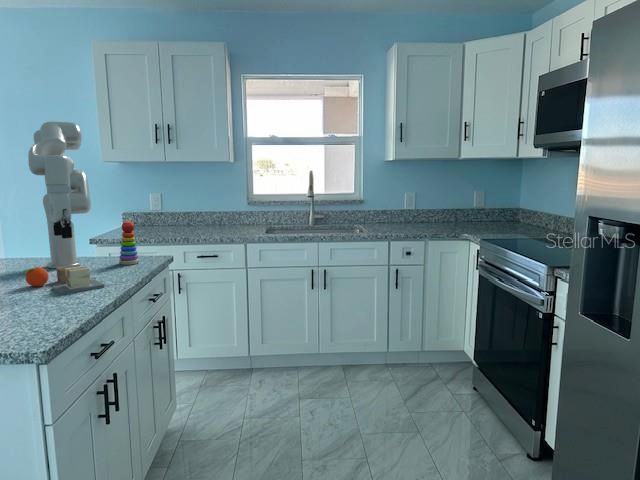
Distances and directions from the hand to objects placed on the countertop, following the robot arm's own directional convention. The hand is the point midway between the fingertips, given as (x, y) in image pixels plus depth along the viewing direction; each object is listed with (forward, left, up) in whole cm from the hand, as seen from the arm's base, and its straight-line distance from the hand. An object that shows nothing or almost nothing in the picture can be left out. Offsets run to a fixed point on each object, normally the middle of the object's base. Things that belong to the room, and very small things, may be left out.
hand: (63, 236), depth 161 cm
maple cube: (+13, 0, -16) cm, 20 cm away
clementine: (0, -10, -17) cm, 20 cm away
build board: (+13, 0, -17) cm, 21 cm away
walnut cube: (0, 0, -17) cm, 17 cm away
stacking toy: (-15, +29, -17) cm, 37 cm away
